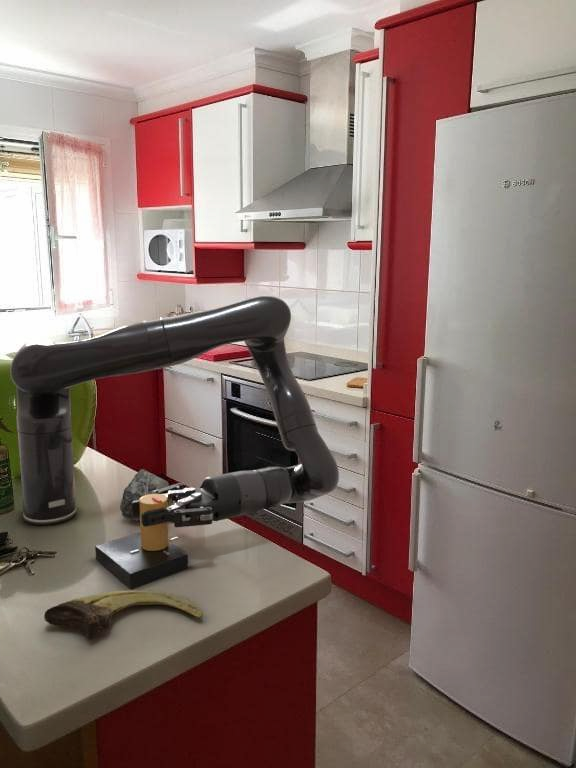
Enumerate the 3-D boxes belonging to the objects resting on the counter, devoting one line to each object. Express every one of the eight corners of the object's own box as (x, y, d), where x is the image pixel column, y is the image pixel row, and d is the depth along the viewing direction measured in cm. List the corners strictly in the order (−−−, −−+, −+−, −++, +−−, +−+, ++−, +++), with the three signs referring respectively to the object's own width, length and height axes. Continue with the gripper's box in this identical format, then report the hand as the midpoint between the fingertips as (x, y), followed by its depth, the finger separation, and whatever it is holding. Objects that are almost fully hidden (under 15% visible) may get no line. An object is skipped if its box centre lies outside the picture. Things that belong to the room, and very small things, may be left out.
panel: (95, 559, 103) (95, 544, 102) (159, 539, 110) (159, 525, 110) (130, 589, 94) (130, 573, 93) (197, 565, 101) (197, 549, 101)
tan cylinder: (136, 544, 103) (134, 496, 101) (160, 536, 106) (158, 489, 104) (149, 553, 100) (147, 504, 98) (173, 545, 102) (172, 497, 101)
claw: (49, 653, 79) (48, 628, 78) (46, 611, 88) (45, 588, 87) (203, 623, 86) (203, 600, 85) (185, 587, 95) (185, 567, 95)
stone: (128, 459, 121) (156, 471, 114) (164, 482, 127) (192, 495, 120) (100, 504, 118) (127, 519, 111) (138, 525, 124) (166, 541, 117)
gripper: (216, 461, 114) (122, 477, 105) (253, 487, 102) (151, 507, 93) (216, 501, 115) (124, 520, 107) (253, 530, 103) (152, 554, 95)
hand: (137, 514), depth 100 cm, fingers closed on tan cylinder, 4 cm apart
